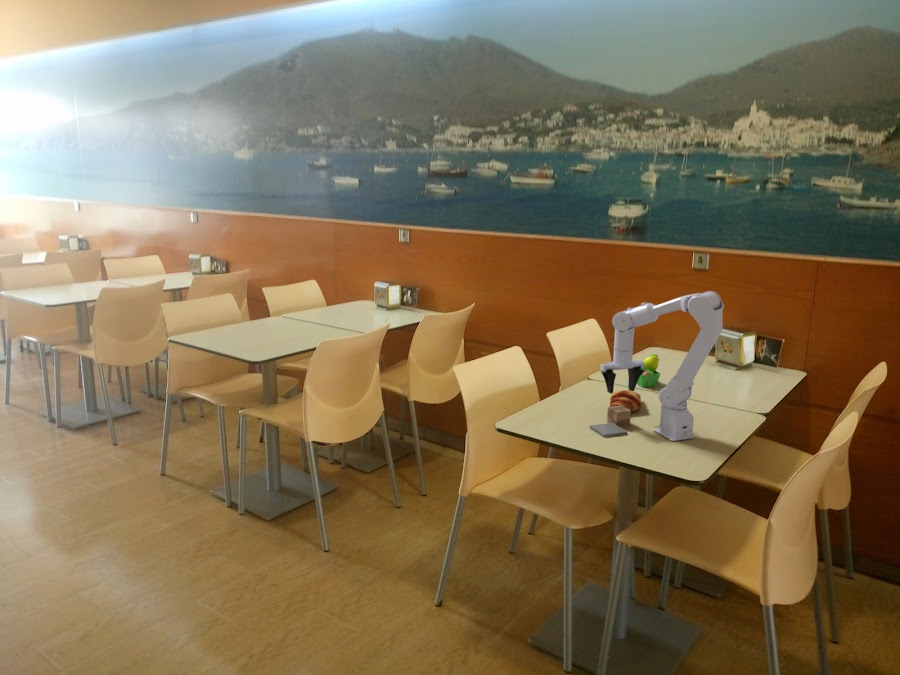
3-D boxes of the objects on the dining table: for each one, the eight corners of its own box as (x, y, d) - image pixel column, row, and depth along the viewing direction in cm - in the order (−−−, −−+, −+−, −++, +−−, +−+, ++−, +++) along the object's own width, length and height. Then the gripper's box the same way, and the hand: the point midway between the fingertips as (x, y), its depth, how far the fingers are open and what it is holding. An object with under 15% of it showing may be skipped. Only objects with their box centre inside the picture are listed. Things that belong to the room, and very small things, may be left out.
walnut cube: (629, 425, 211) (630, 410, 210) (615, 427, 210) (616, 412, 209) (620, 420, 216) (621, 405, 215) (607, 422, 214) (607, 407, 213)
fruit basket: (627, 379, 259) (629, 351, 257) (649, 378, 261) (651, 350, 258) (641, 388, 248) (643, 358, 246) (663, 387, 250) (666, 357, 247)
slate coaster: (627, 434, 204) (627, 431, 204) (603, 437, 202) (604, 434, 201) (612, 425, 212) (612, 422, 211) (589, 428, 209) (589, 425, 209)
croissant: (629, 408, 238) (620, 387, 238) (655, 400, 232) (646, 378, 232) (604, 424, 221) (594, 401, 221) (631, 416, 215) (622, 392, 215)
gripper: (636, 344, 217) (633, 385, 220) (596, 348, 212) (593, 389, 215) (649, 349, 210) (646, 392, 213) (608, 353, 206) (605, 396, 209)
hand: (620, 391), depth 214 cm, fingers open, 7 cm apart
